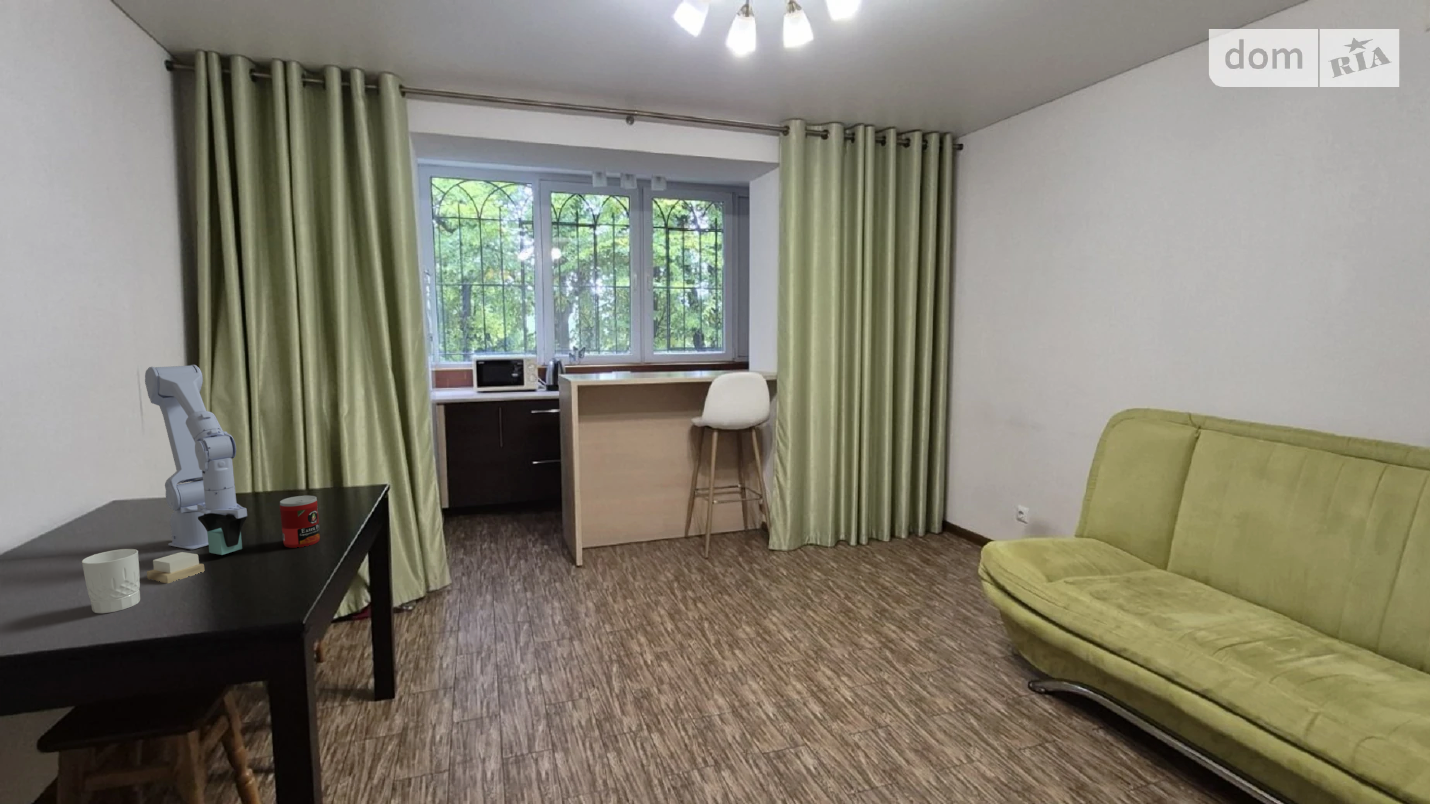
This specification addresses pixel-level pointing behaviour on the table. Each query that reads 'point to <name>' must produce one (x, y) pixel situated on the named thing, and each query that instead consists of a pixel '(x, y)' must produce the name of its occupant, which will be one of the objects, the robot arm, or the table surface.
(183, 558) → the cream slab
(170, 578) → the oak slab
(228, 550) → the teal block
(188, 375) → the robot arm
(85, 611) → the table surface
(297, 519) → the canned food
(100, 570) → the white cup
